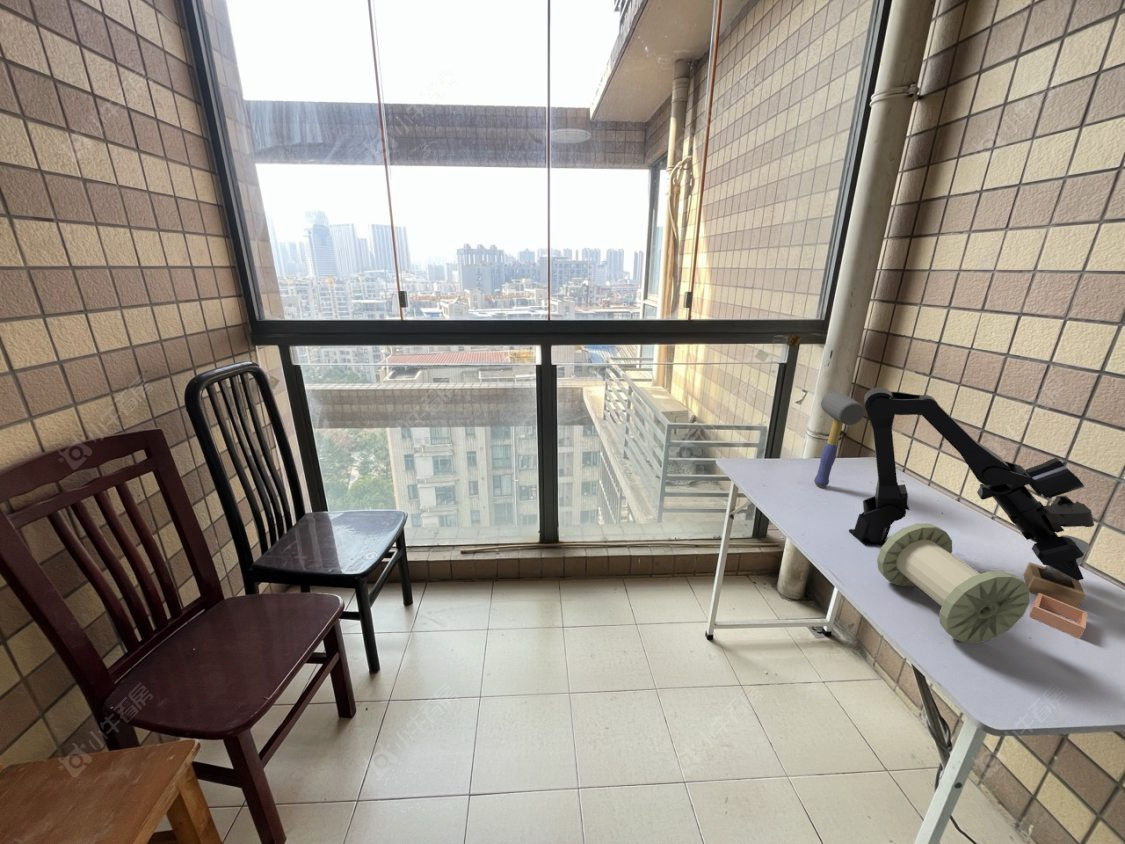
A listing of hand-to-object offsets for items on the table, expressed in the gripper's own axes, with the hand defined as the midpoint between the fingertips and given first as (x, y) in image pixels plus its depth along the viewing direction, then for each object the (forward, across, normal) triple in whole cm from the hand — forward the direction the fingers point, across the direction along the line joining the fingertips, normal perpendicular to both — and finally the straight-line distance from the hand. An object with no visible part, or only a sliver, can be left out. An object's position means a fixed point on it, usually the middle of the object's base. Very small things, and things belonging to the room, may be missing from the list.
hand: (1070, 567), depth 91 cm
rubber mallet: (-28, +26, +38) cm, 54 cm away
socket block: (+2, -11, +7) cm, 14 cm away
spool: (-12, -22, +22) cm, 33 cm away
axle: (+4, 0, +6) cm, 7 cm away
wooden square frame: (+4, 0, +6) cm, 7 cm away
